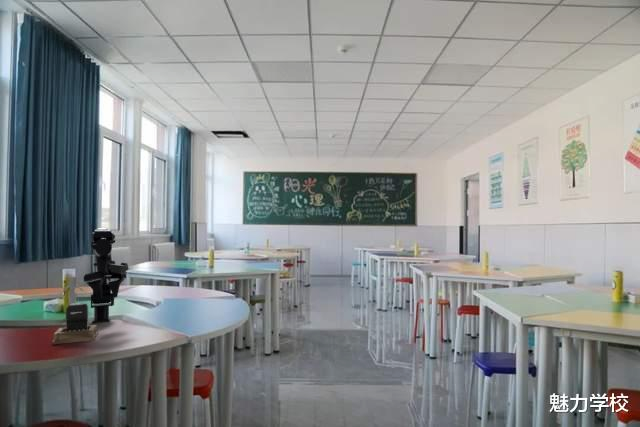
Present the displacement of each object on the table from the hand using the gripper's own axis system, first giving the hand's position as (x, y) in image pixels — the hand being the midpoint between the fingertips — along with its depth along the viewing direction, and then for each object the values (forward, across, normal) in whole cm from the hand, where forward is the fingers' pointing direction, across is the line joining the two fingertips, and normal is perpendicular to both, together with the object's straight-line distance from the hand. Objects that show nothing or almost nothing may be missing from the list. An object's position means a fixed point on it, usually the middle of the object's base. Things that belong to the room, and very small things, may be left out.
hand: (108, 298), depth 160 cm
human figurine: (+2, +24, +35) cm, 43 cm away
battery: (+12, -12, +6) cm, 18 cm away
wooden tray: (+13, -12, +6) cm, 19 cm away
